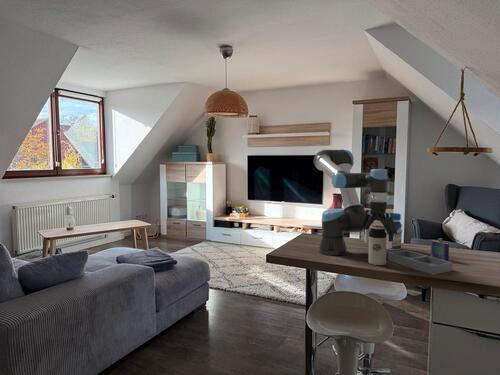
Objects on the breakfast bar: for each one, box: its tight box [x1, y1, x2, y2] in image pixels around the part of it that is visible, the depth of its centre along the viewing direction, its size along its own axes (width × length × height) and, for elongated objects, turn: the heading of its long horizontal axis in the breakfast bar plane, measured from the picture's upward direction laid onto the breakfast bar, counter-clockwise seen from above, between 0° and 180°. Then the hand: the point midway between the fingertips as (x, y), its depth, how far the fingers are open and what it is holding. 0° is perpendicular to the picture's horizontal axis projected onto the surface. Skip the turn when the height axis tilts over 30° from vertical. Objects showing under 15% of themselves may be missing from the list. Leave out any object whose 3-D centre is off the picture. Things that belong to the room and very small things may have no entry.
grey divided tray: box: [387, 249, 453, 276], centre depth 156 cm, size 24×13×4 cm, turn 25°
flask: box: [430, 238, 450, 262], centre depth 165 cm, size 9×3×11 cm, turn 24°
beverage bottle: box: [385, 212, 403, 251], centre depth 186 cm, size 8×8×20 cm
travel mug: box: [367, 224, 387, 266], centre depth 159 cm, size 8×8×18 cm
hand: (377, 245), depth 159 cm, fingers open, 13 cm apart
